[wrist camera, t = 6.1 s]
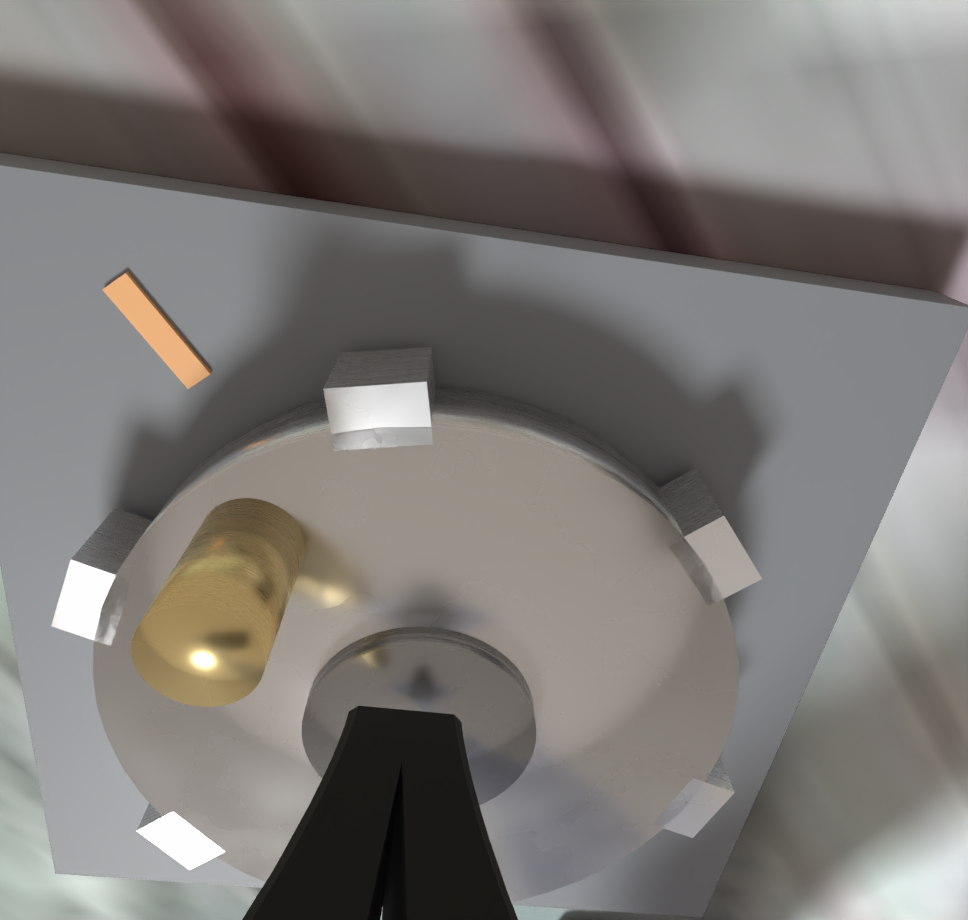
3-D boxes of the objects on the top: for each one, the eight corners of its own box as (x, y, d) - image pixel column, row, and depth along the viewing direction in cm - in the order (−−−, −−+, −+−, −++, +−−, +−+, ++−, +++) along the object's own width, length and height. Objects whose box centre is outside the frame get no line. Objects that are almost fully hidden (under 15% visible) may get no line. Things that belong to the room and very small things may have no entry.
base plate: (689, 873, 25) (703, 921, 23) (79, 828, 23) (53, 876, 22) (933, 291, 16) (979, 310, 14) (-23, 149, 14) (-77, 154, 13)
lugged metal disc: (833, 698, 19) (954, 895, 14) (356, 915, 22) (328, 1129, 18) (541, 214, 13) (583, 277, 9) (-29, 605, 17) (-217, 798, 12)
